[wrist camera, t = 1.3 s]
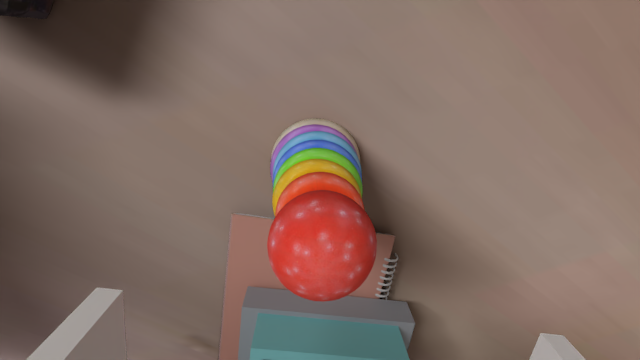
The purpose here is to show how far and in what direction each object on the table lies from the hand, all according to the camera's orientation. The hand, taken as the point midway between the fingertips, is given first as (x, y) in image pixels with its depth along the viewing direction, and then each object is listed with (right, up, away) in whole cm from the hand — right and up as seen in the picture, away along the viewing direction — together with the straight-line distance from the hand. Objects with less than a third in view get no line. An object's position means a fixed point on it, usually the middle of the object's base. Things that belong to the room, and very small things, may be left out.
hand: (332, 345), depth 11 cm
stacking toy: (-1, +7, +21) cm, 22 cm away
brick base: (-1, -13, +25) cm, 28 cm away
